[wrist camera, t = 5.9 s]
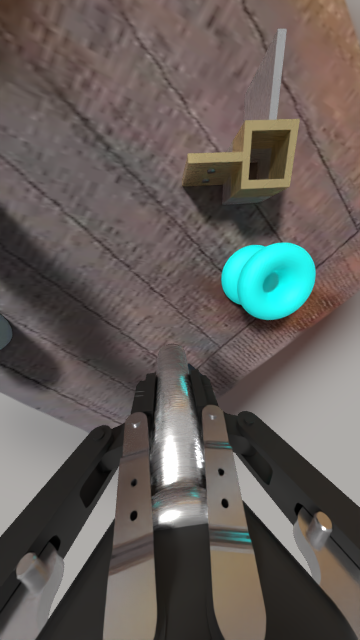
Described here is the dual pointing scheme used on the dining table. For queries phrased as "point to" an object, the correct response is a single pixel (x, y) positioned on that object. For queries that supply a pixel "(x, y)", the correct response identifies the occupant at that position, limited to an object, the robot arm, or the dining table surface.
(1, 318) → the embossed green planter pot
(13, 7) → the dining table surface
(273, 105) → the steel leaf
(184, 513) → the hinge pin
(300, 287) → the donuts
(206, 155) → the bracket
